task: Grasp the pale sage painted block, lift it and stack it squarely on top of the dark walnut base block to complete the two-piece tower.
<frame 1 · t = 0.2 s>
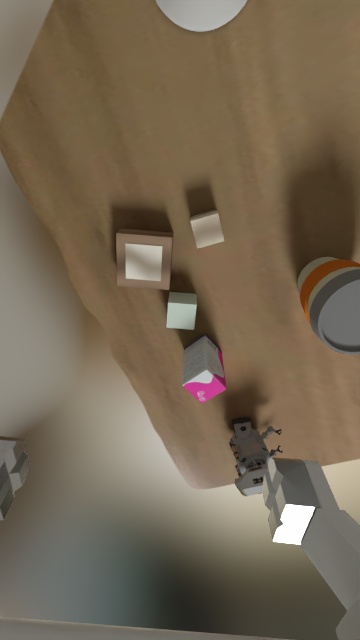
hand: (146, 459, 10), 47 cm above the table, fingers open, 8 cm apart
reusable coffee cup: (322, 280, 57), on the table
supplement box: (202, 350, 65), on the table
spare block: (206, 225, 53), on the table
figurine: (252, 429, 74), on the table
sage block: (182, 304, 60), on the table
walnut base: (146, 256, 56), on the table
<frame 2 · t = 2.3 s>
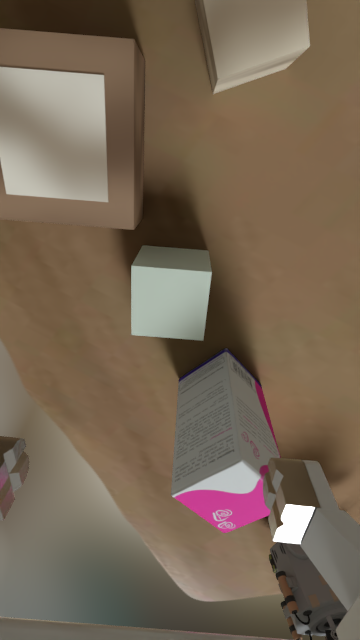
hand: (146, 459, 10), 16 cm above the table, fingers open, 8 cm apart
supplement box: (219, 381, 30), on the table
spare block: (241, 36, 18), on the table
figurine: (308, 520, 40), on the table
sage block: (173, 278, 25), on the table
walnut base: (75, 142, 21), on the table
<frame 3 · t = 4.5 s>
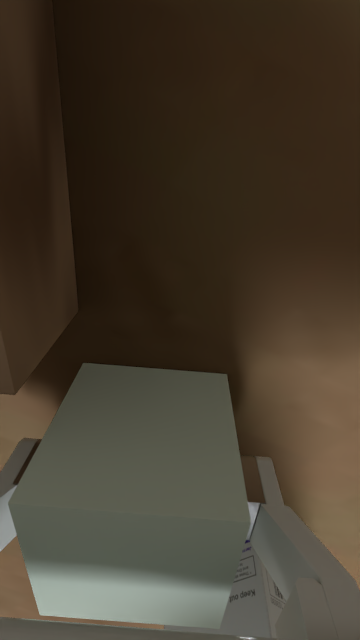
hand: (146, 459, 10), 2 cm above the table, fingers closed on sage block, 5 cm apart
supplement box: (240, 563, 17), on the table
sage block: (152, 421, 12), on the table, touching gripper
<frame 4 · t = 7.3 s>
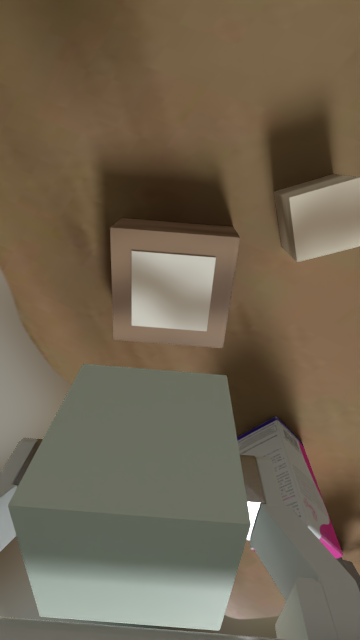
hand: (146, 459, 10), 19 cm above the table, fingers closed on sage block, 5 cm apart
supplement box: (267, 440, 36), on the table
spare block: (305, 212, 25), on the table
sage block: (152, 422, 12), point 17 cm above the table, touching gripper
walnut base: (174, 275, 27), on the table
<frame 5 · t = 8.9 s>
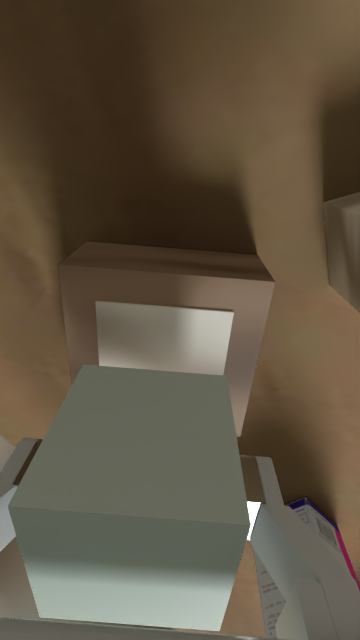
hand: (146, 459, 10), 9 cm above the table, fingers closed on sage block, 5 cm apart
supplement box: (292, 521, 28), on the table
sage block: (152, 423, 12), point 8 cm above the table, touching gripper
walnut base: (167, 323, 19), on the table
when the fingers open (6 cm above the table, at t = 10.3 s): sage block stays where it is, resting on walnut base.
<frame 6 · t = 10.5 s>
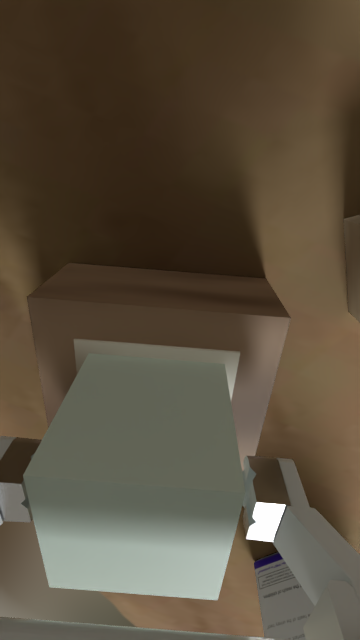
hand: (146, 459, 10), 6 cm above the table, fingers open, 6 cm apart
supplement box: (301, 562, 25), on the table
sage block: (154, 410, 13), point 4 cm above the table, touching walnut base
walnut base: (162, 353, 16), on the table
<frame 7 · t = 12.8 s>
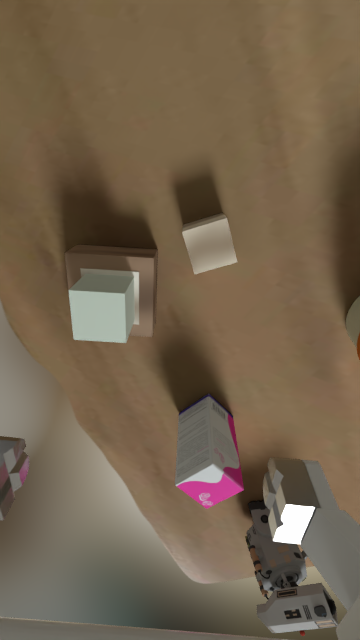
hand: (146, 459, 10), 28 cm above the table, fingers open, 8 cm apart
supplement box: (205, 414, 45), on the table
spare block: (207, 238, 34), on the table
figurine: (275, 513, 54), on the table
sage block: (110, 297, 33), point 4 cm above the table, touching walnut base
walnut base: (118, 285, 37), on the table
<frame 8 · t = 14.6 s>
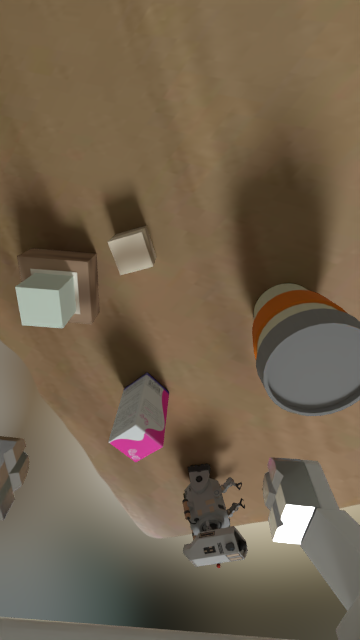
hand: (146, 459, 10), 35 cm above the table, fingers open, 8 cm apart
reusable coffee cup: (283, 311, 46), on the table
supplement box: (146, 390, 54), on the table
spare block: (136, 245, 43), on the table
figurine: (212, 476, 64), on the table
sage block: (56, 292, 42), point 4 cm above the table, touching walnut base
walnut base: (67, 281, 45), on the table
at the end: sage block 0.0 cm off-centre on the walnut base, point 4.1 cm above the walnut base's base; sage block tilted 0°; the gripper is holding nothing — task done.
